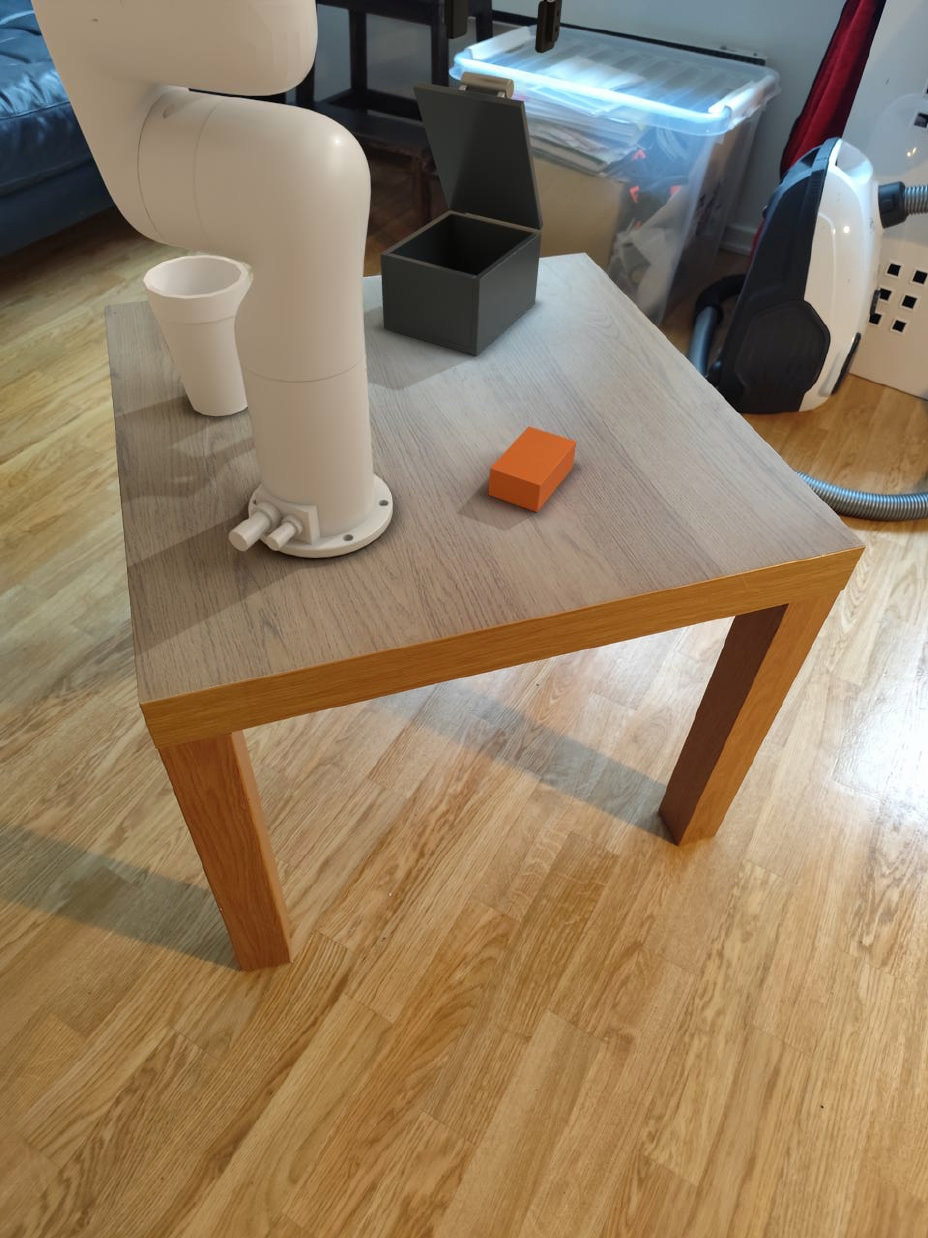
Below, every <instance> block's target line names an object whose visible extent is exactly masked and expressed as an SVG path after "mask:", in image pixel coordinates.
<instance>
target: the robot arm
mask: <svg viewBox="0 0 928 1238" xmlns="http://www.w3.org/2000/svg"><path fill="white" fill-rule="evenodd" d="M30 3H31V6H32V9H33V12H34V16H35V19H36V22H37V25H38V28H39V30H40V32H41V35H42V38H43V41H44V43H45V45H46V48H47V51H48V54H49V55H50V58H51V61H52V63H53V66H54V68H55V69H56V72H57V75H58V77H59V79H60V82H61V84H62V86H63V89H64V91H65V94H66V96H67V99H68V101H69V103H70V105H71V108H72V110H73V113H74V115H75V117H76V120H77V122H78V124H79V127H80V129H81V131H82V135H83V136H84V139H85V141H86V143H87V145H88V148H89V150H90V153H91V155H92V158H93V160H94V161H95V164H96V166H97V168H98V171H99V174H100V176H101V178H102V180H103V182H104V184H105V187H106V189H107V191H108V193H109V195H110V197H111V198H112V200H113V203H114V204H115V206H116V207H117V209H118V210H119V212H120V213H121V214H122V216H123V218H124V219H125V220H126V221H127V222H128V223H129V224H130V225H131V226H132V227H133V229H135V230H136V231H137V232H138V233H140V234H142V235H143V236H145V237H146V238H149V239H150V240H153V241H154V242H158V243H161V244H164V245H167V246H171V247H176V248H181V249H185V250H190V251H195V252H201V253H204V254H208V255H213V256H219V257H226V258H229V259H232V260H234V261H237V262H239V263H244V264H246V265H248V266H249V267H250V268H251V270H252V274H253V275H252V281H251V282H250V287H249V289H248V291H247V292H246V294H245V296H244V297H243V299H242V301H241V302H240V304H239V306H238V309H237V312H236V315H235V322H234V335H235V343H236V349H237V354H238V359H239V362H240V367H241V373H242V378H243V384H244V389H245V394H246V400H247V405H248V406H247V411H248V416H249V421H250V428H251V432H252V438H253V443H254V448H255V453H256V454H255V455H256V459H257V460H256V461H257V464H258V472H259V475H260V481H261V483H260V484H259V485H258V486H257V488H256V489H255V490H254V491H253V493H252V495H251V497H250V499H249V502H248V506H247V511H248V518H247V519H245V520H243V521H242V522H240V523H239V524H238V525H236V527H234V528H233V529H232V530H230V531H229V533H228V540H229V542H230V543H231V545H232V546H233V547H234V548H235V549H237V550H238V551H240V552H246V551H248V549H250V548H251V547H252V546H253V545H254V544H255V543H256V542H258V541H259V540H260V541H261V542H263V543H264V544H265V545H267V546H268V548H269V549H271V550H272V551H275V552H278V551H279V552H280V553H283V554H286V555H291V556H295V557H300V558H311V559H312V558H314V559H317V558H331V557H336V556H342V555H346V554H348V553H352V552H355V551H357V550H359V549H361V548H363V547H366V546H369V544H370V543H372V542H374V541H375V540H376V539H378V538H379V537H380V536H381V535H382V534H383V533H384V532H385V531H386V530H387V528H388V526H389V524H390V523H391V520H392V516H393V515H394V514H393V513H394V507H393V506H394V505H393V504H394V503H393V502H394V501H393V496H392V493H391V490H390V489H389V486H388V485H387V484H386V482H385V481H384V480H383V479H382V478H381V477H379V476H378V475H377V474H376V473H374V463H373V446H372V444H373V443H372V430H371V414H370V413H371V411H370V398H369V397H370V396H369V383H368V381H369V379H368V367H367V366H368V363H367V349H366V335H365V318H364V316H365V315H364V269H365V256H366V255H365V254H366V243H367V235H368V225H369V217H370V210H371V208H370V207H371V197H372V196H371V194H372V190H371V189H372V188H371V187H372V186H371V184H372V183H371V172H370V168H369V162H368V160H367V159H368V158H367V157H366V154H365V152H364V150H363V148H362V146H361V145H360V143H359V141H358V140H357V139H356V137H355V136H354V135H353V134H352V133H351V132H350V130H348V129H347V128H346V127H345V126H344V125H342V124H340V123H339V122H337V121H336V120H334V119H332V118H330V117H328V116H327V115H324V114H321V113H319V112H316V111H314V110H311V109H308V108H304V107H299V106H295V105H289V104H283V103H276V102H270V101H264V100H256V99H250V98H243V97H235V96H234V97H233V96H232V97H231V96H223V95H217V94H210V93H203V92H197V91H204V92H205V91H206V92H213V93H220V94H228V95H237V96H249V97H251V96H256V97H257V96H272V95H277V94H282V93H285V92H288V91H290V90H291V89H293V88H295V87H297V86H298V85H300V84H301V83H302V82H303V81H304V80H305V78H306V77H307V75H308V74H309V73H310V71H311V69H312V68H313V65H314V62H315V57H316V52H317V46H318V38H319V37H318V36H319V33H318V31H319V30H318V29H319V28H318V15H317V14H318V13H317V5H316V0H30ZM443 7H444V9H443V11H444V13H443V15H444V16H443V18H444V19H443V22H444V25H445V27H446V30H445V31H446V35H445V36H446V39H448V40H455V39H458V38H461V37H463V36H465V35H466V34H467V33H468V21H469V20H468V17H469V15H468V14H469V0H444V5H443ZM562 8H563V0H540V1H539V3H538V5H537V16H536V17H537V18H536V28H535V43H534V51H535V52H536V53H537V54H545V53H546V52H548V51H551V50H553V49H554V48H555V45H556V43H557V41H558V40H559V37H560V30H561V29H560V28H561V18H562ZM191 89H192V90H197V91H191Z"/></svg>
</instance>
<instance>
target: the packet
mask: <svg viewBox="0 0 928 1238" xmlns="http://www.w3.org/2000/svg"><path fill="white" fill-rule="evenodd" d="M576 448H577V441H576V440H573V439H570V438H567V437H563V436H560V435H558V434H554V433H551V432H549V431H545V430H542V429H539V428H536V427H533V426H530V425H529V426H527V427H526V428H525V430H523V432H522V433H521V434H520V435H519V436H518V438H516V439H515V440H514V442H513V443H512V444H511V445H510V446H509V447H508V448H507V449H506V450H505V451H504V453H502V455H501V456H500V457H499V458H498V459H497V460H496V461H495V463H494V464H492V465H491V467H490V468H489V479H488V480H489V482H488V496H490V497H492V498H493V497H494V498H496V499H498V500H502V501H504V502H507V503H509V504H513V505H516V506H519V507H521V508H524V509H526V510H530V511H532V512H535V513H538V512H539V511H540V509H541V508H542V507H543V506H544V505H545V503H546V502H547V501H548V499H550V497H551V496H552V494H553V493H554V492H555V491H556V489H557V488H558V487H559V486H560V484H561V483H562V482H563V481H564V480H565V478H566V477H567V475H568V474H569V473H570V472H571V471H572V469H573V467H574V461H575V455H576V454H575V453H576Z"/></svg>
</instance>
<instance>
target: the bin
mask: <svg viewBox="0 0 928 1238" xmlns="http://www.w3.org/2000/svg"><path fill="white" fill-rule="evenodd" d="M542 235H543V233H542V232H541V231H539V230H535V229H530V228H526V227H522V226H518V225H514V224H509V223H505V222H501V221H497V220H492V219H488V218H484V217H480V216H475V215H471V214H467V213H463V212H459V211H455V210H448V211H446V212H445V213H443V214H441V215H440V216H438V217H437V218H435V219H434V220H432V221H430V222H429V223H427V224H426V225H424V226H423V227H421V228H419V229H418V230H416V231H414V232H413V233H411V234H409V235H408V236H406V237H405V238H403V239H401V240H400V241H399V242H397V243H395V244H393V245H392V246H390V247H389V248H387V249H386V250H384V251H382V252H381V253H380V277H381V300H382V321H383V322H382V323H383V329H384V330H387V331H391V332H393V333H397V334H401V335H404V336H408V337H410V338H415V339H417V340H421V341H425V342H427V343H431V344H435V345H437V346H441V347H445V348H447V349H451V350H454V351H458V352H462V353H465V354H468V355H471V356H475V357H477V356H478V355H479V354H481V353H482V352H483V351H484V350H485V349H486V348H488V346H490V345H491V344H492V343H493V342H495V340H497V338H499V337H500V336H501V335H502V334H503V333H504V332H506V330H508V329H509V328H510V327H512V325H514V323H516V322H517V321H518V320H519V319H520V318H522V316H523V315H525V314H526V313H527V312H528V311H529V310H530V309H532V307H534V306H535V305H536V298H537V287H538V278H539V277H538V276H539V267H540V266H539V265H540V254H541V243H542Z"/></svg>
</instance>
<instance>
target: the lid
mask: <svg viewBox="0 0 928 1238" xmlns="http://www.w3.org/2000/svg"><path fill="white" fill-rule="evenodd" d="M459 81H460V83H459V84H460V85H459V88H453V87H450V86H449V87H448V86H444V85H443V86H442V85H438V84H431V83H426V82H421V81H415V83H414V84H413V86H412V88H413V93H414V96H415V100H416V103H417V106H418V110H419V113H420V116H421V120H422V124H423V128H424V130H425V131H424V132H425V134H426V137H427V140H428V141H427V142H428V144H429V147H430V151H431V154H432V155H431V156H432V158H433V161H434V165H435V167H436V171H437V175H438V178H439V183H440V186H441V188H442V192H443V196H444V200H445V202H446V206H447V209H448V210H451V211H455V212H459V213H464V214H468V215H472V216H476V217H481V218H485V219H489V220H493V221H498V222H502V223H506V224H510V225H515V226H519V227H523V228H527V229H532V230H536V231H542V229H543V227H544V220H543V215H542V214H543V213H542V209H541V207H542V206H541V201H540V194H539V188H538V182H537V176H536V170H535V164H534V157H533V151H532V144H531V137H530V131H529V125H528V118H527V112H526V105H525V101H524V100H521V99H515V98H512V97H513V95H514V90H515V82H514V80H513V79H512V78H507V77H503V76H502V77H501V76H495V75H490V74H483V73H479V72H478V73H477V72H472V71H467V70H466V71H463V72H462V74H461V76H460V80H459Z"/></svg>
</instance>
